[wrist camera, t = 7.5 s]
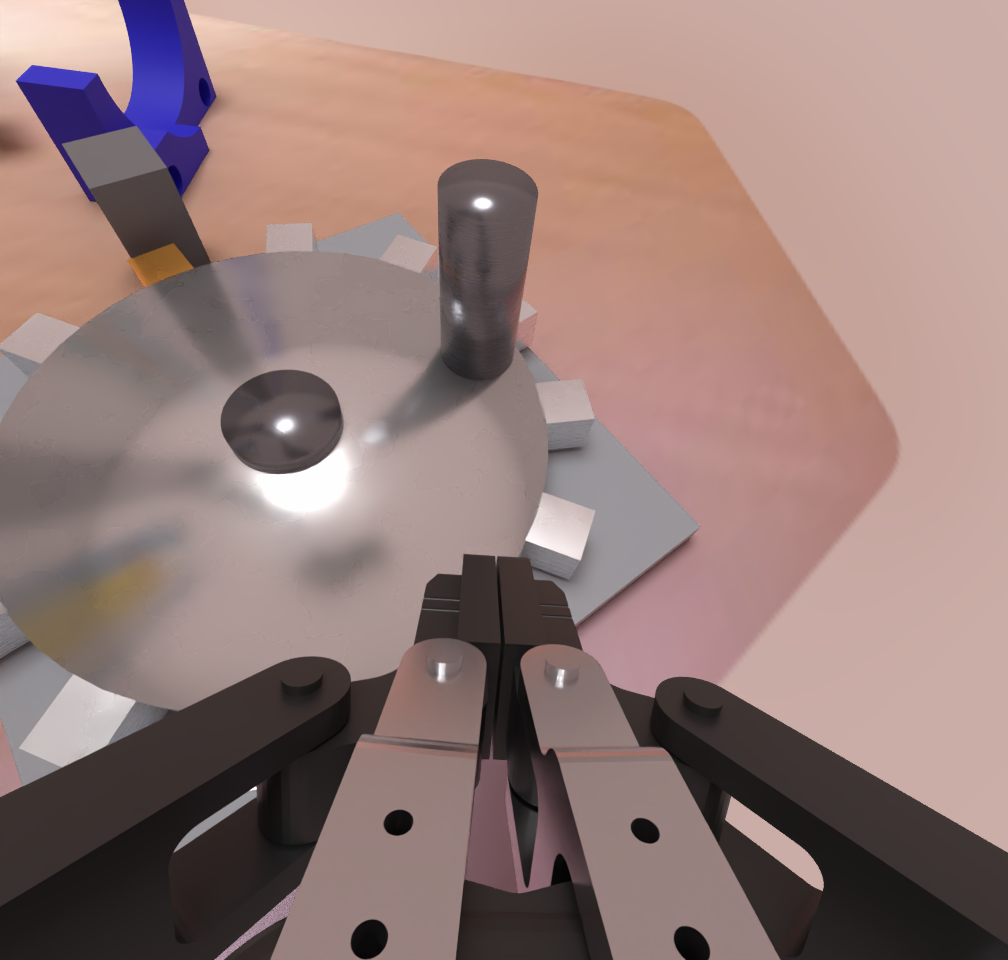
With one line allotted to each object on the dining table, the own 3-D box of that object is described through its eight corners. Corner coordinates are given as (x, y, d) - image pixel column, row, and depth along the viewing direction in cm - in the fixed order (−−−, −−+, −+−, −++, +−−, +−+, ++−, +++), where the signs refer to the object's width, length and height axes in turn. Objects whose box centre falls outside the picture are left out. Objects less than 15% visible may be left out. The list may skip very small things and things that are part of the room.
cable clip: (174, 213, 30) (116, 94, 25) (91, 203, 30) (15, 80, 25) (240, 102, 36) (204, -13, 31) (171, 93, 36) (124, -25, 30)
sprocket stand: (-98, 341, 24) (-250, 219, 19) (360, 189, 32) (343, 75, 27) (116, 986, 14) (-72, 1103, 9) (689, 538, 23) (760, 465, 17)
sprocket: (-226, 623, 17) (-820, 485, 9) (215, 209, 28) (124, -13, 20) (462, 926, 15) (478, 1094, 7) (640, 347, 26) (723, 158, 18)
